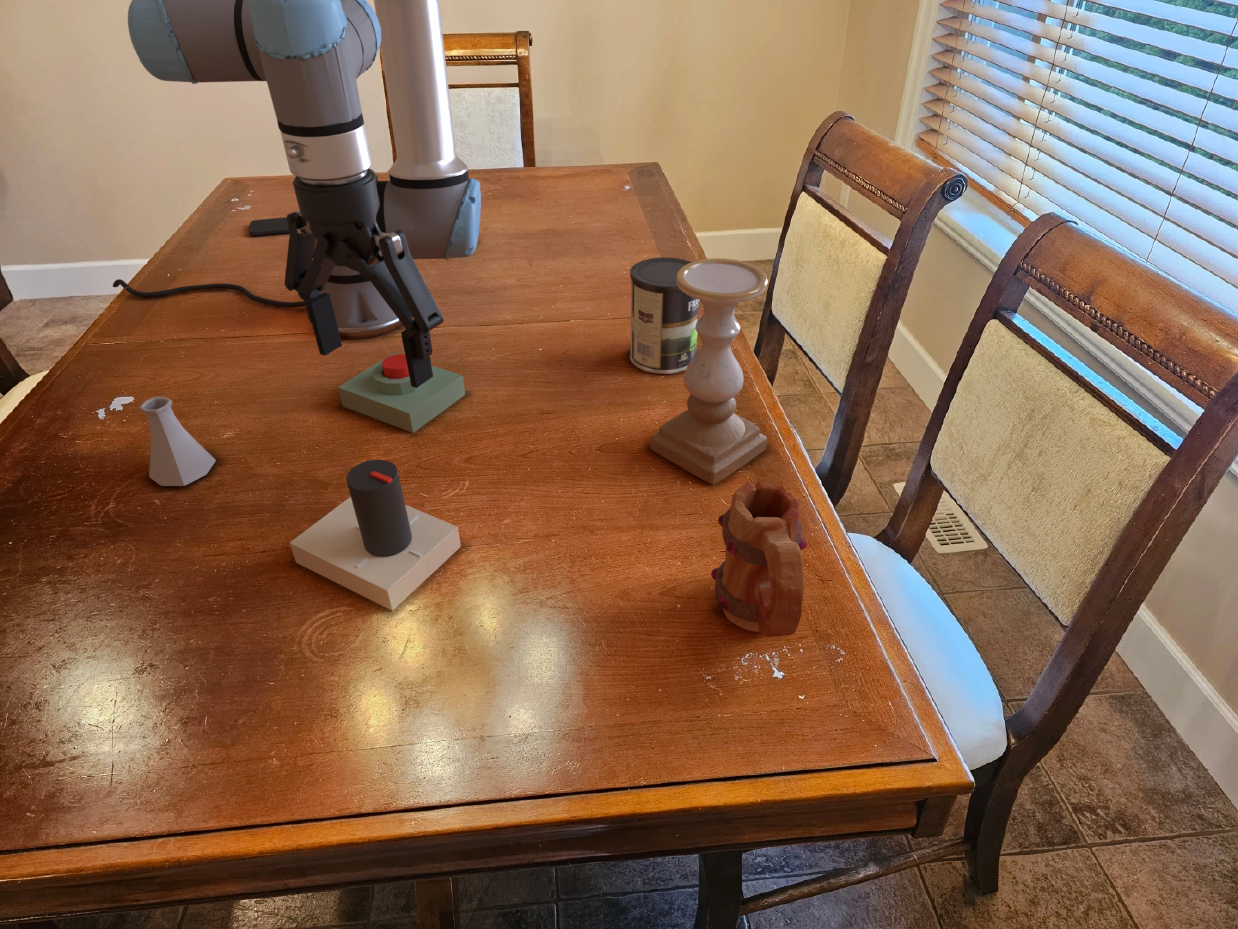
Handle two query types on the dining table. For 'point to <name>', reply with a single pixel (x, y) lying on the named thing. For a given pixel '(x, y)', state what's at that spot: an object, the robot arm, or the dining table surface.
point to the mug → (762, 560)
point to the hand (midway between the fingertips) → (375, 365)
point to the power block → (401, 396)
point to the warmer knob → (379, 507)
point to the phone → (268, 226)
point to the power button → (395, 367)
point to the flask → (173, 447)
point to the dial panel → (380, 579)
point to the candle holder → (714, 376)
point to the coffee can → (661, 317)
